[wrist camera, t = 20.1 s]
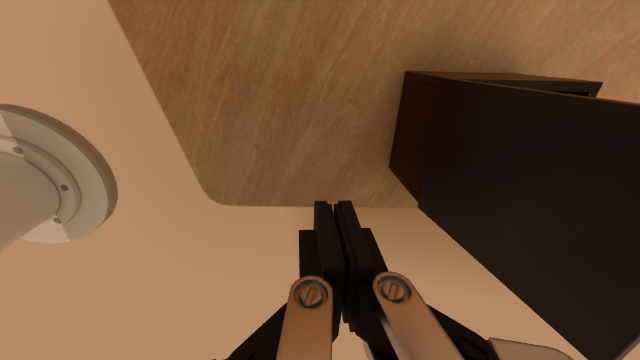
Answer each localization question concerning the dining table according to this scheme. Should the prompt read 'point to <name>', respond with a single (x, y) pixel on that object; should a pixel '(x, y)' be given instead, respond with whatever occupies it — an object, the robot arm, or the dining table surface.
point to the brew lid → (546, 204)
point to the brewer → (426, 106)
